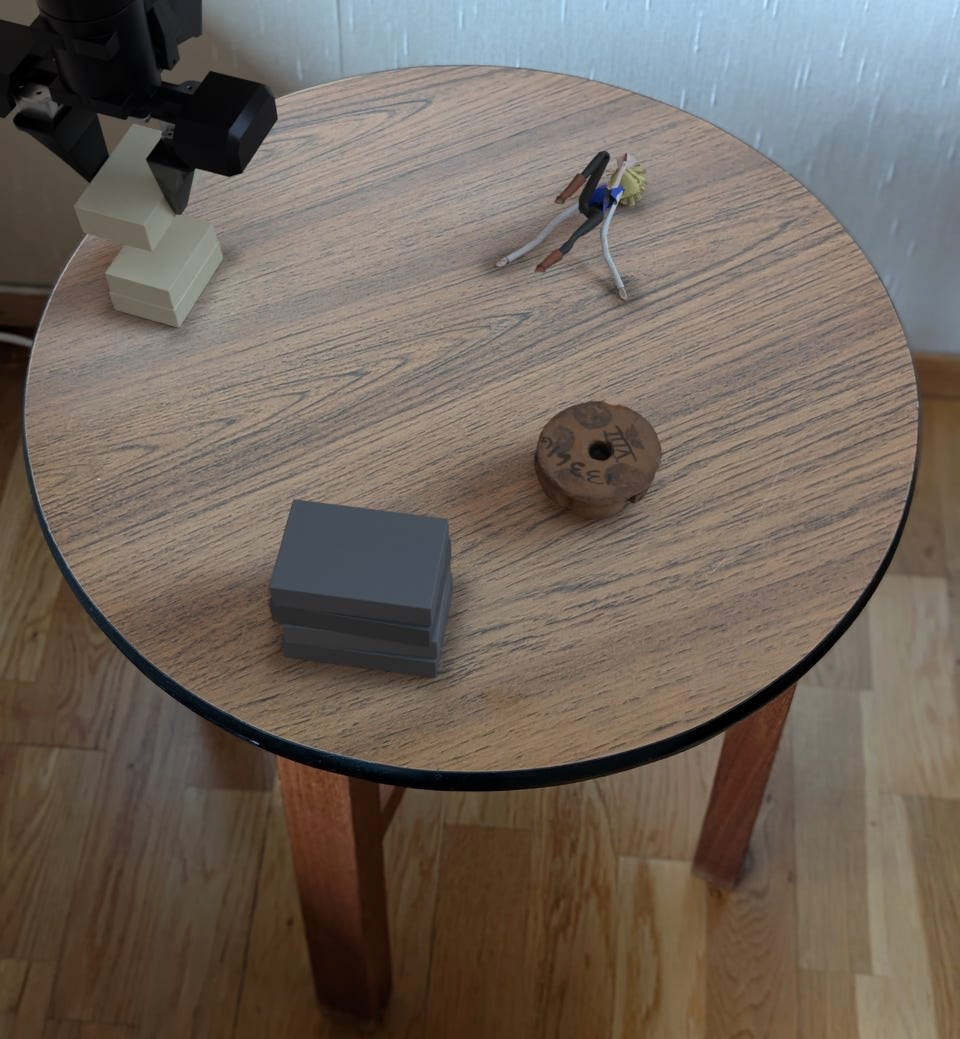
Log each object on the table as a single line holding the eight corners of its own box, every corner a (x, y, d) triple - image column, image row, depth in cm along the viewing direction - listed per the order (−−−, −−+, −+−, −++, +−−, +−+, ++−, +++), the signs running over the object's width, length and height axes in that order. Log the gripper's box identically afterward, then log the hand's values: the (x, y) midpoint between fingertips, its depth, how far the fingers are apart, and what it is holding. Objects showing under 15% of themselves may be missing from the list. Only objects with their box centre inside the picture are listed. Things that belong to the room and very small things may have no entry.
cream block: (152, 252, 85) (144, 225, 83) (82, 233, 86) (73, 206, 84) (207, 168, 89) (201, 141, 87) (140, 150, 90) (132, 122, 88)
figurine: (668, 269, 104) (542, 386, 90) (587, 194, 104) (448, 300, 91) (746, 176, 96) (619, 289, 83) (657, 96, 97) (517, 195, 83)
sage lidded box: (179, 328, 92) (169, 292, 89) (114, 310, 93) (102, 273, 90) (223, 258, 95) (215, 221, 92) (160, 241, 96) (150, 204, 93)
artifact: (613, 427, 87) (620, 378, 83) (676, 512, 83) (687, 466, 79) (510, 473, 85) (512, 425, 81) (570, 562, 81) (575, 517, 77)
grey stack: (280, 659, 78) (261, 590, 71) (304, 567, 81) (288, 493, 75) (437, 681, 77) (433, 613, 70) (455, 587, 80) (453, 514, 74)
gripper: (300, -57, 77) (325, 154, 90) (15, -121, 80) (79, 91, 93) (214, 61, 71) (255, 268, 84) (-89, -13, 74) (-5, 197, 87)
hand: (145, 200), depth 87 cm, fingers closed on cream block, 5 cm apart
